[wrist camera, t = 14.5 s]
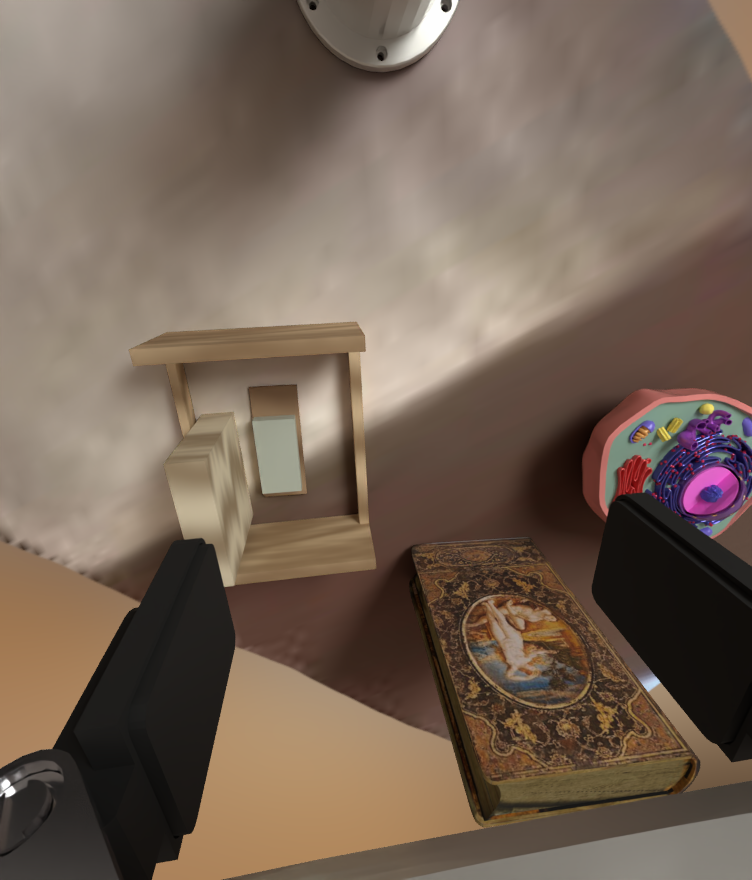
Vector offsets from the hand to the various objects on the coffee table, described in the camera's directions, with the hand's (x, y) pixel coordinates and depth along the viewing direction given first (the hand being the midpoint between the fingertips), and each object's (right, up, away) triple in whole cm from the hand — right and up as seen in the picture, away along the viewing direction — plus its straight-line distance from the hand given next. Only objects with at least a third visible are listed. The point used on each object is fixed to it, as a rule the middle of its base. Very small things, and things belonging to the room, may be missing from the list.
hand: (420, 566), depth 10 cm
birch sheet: (-16, 0, +33) cm, 37 cm away
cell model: (+28, +3, +38) cm, 48 cm away
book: (+11, -12, +42) cm, 45 cm away
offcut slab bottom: (-11, +3, +33) cm, 35 cm away
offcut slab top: (-11, +2, +33) cm, 35 cm away
